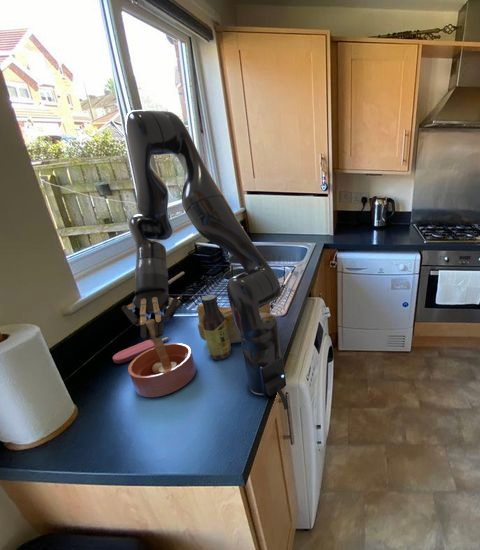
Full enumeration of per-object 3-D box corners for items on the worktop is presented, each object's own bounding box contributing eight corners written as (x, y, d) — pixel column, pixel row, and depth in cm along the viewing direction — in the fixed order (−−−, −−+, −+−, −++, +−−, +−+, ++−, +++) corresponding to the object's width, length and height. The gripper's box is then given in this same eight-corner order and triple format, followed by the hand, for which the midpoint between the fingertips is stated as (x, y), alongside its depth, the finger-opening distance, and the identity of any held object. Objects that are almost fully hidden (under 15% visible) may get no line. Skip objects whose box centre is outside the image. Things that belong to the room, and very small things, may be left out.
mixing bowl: (204, 378, 85) (199, 358, 83) (144, 408, 75) (136, 386, 73) (185, 355, 94) (180, 337, 91) (129, 380, 84) (122, 359, 82)
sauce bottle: (229, 359, 93) (216, 302, 85) (207, 362, 92) (192, 303, 84) (234, 346, 98) (223, 292, 91) (213, 348, 98) (200, 293, 90)
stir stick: (180, 368, 85) (162, 319, 79) (163, 377, 82) (142, 327, 76) (174, 362, 88) (156, 315, 82) (157, 371, 85) (137, 322, 79)
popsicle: (170, 338, 100) (115, 362, 89) (172, 342, 100) (117, 366, 90) (164, 332, 103) (109, 355, 92) (165, 336, 103) (111, 359, 93)
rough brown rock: (282, 321, 114) (277, 284, 109) (272, 345, 98) (265, 302, 93) (219, 325, 113) (211, 287, 108) (198, 349, 97) (188, 307, 92)
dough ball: (166, 371, 86) (161, 362, 85) (154, 376, 84) (149, 367, 84) (167, 368, 88) (162, 359, 88) (155, 373, 87) (150, 364, 86)
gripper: (115, 276, 79) (113, 341, 73) (175, 268, 83) (178, 330, 77) (128, 286, 86) (127, 347, 80) (183, 279, 90) (186, 336, 84)
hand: (152, 338), depth 79 cm, fingers closed on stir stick, 2 cm apart
